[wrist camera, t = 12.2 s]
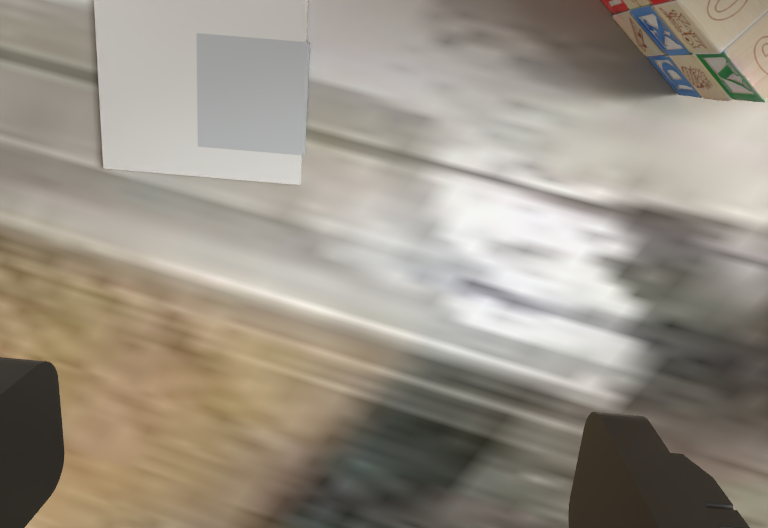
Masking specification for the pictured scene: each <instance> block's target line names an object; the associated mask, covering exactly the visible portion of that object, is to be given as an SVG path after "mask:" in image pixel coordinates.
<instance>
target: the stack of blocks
mask: <svg viewBox="0 0 768 528" xmlns="http://www.w3.org/2000/svg"><path fill="white" fill-rule="evenodd" d="M601 1H602V2H603V3H604V4H605V6H606V7H607V8H608V9H609V10H610V11H611V12H612V13H613V15H612V17H613V19H614V20H615V21H616V22H617V23H618V25H619V26H620V27H621V28H622V29H623V31H624V32H625V33H626V34H627V36H628V37H629V38H630V39H631V40H632V42H633V43H634V44H635V45H636V46H637V47H638V49H639V50H640V51H641V52H642V53H643V54H644V55H645V56H646V57H647V58H648V59H649V61H650V62H651V63H652V64H653V65H654V67H655V68H656V69H657V70H658V72H659V73H660V74H661V75H662V76H663V77H664V78H665V80H666V81H667V82H668V83H669V84H670V85H671V87H672V88H673V89H674V90H675V91H676V92H677V93H678V94H679V95H684V96H692V97H700V98H702V97H703V98H705V99H713V100H722V101H730V100H732V99H735V100H746V101H753V102H766V101H767V100H768V0H601Z"/></svg>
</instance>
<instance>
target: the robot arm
mask: <svg viewBox="0 0 768 528" xmlns="http://www.w3.org/2000/svg"><path fill="white" fill-rule="evenodd" d="M63 463H64V442H63V430H62V418H61V406H60V395H59V383H58V375H57V371H56V369H55V367H54V366H53V364H51V363H50V362H46V361H35V360H24V359H13V358H2V357H0V528H24V527H25V526H26V525H27V524H28V523H29V521H30V520H31V519H32V518H33V517H34V515H35V514H36V513H37V512H38V511H39V509H40V508H41V507H42V506H43V504H44V503H45V502H46V501H47V500H48V498H49V497H50V496H51V494H52V493H53V491H54V490H55V488H56V486H57V484H58V481H59V479H60V476H61V472H62V468H63ZM569 528H750V527H749V526H748V525H747V523H746V522H745V521H744V519H743V518H742V517H741V515H740V514H739V512H738V511H737V510H733V504H732V503H731V502H730V500H729V499H728V497H727V496H726V495H725V493H724V492H723V491H722V489H721V488H720V487H719V485H718V484H717V482H716V481H715V480H714V478H713V477H711V476H710V475H709V474H707V473H706V472H705V471H703V470H702V469H701V468H700V467H698V466H697V465H696V464H694V463H693V462H692V461H690V460H689V459H688V458H687V457H685V456H684V455H683V454H675V453H670V452H669V450H668V449H667V447H666V446H665V444H664V443H663V441H662V440H661V438H660V437H659V435H658V434H657V432H656V431H655V429H654V428H653V426H652V425H651V423H650V422H649V421H648V419H647V418H645V417H643V416H633V415H622V414H611V413H600V412H592V413H591V414H590V415H589V416H588V418H587V420H586V423H585V427H584V431H583V436H582V441H581V446H580V451H579V456H578V461H577V466H576V471H575V476H574V481H573V486H572V491H571V496H570V502H569Z"/></svg>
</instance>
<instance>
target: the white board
mask: <svg viewBox="0 0 768 528" xmlns="http://www.w3.org/2000/svg"><path fill="white" fill-rule="evenodd" d="M94 12H95V30H96V48H97V66H98V84H99V102H100V120H101V137H102V155H103V168H104V169H116V170H128V171H139V172H151V173H163V174H175V175H187V176H199V177H210V178H222V179H234V180H246V181H258V182H270V183H282V184H293V185H300V184H301V171H302V155H305V153H306V128H307V103H308V79H309V54H310V42H307V17H308V0H94Z"/></svg>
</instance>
